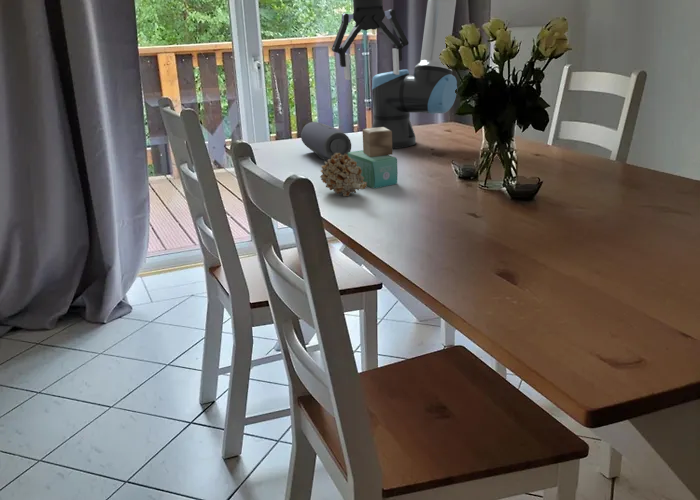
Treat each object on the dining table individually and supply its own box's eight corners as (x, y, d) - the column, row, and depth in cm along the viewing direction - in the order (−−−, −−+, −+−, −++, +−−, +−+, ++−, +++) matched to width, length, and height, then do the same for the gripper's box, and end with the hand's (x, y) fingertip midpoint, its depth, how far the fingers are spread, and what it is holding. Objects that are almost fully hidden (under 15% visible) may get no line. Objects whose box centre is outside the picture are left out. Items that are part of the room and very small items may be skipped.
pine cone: (312, 190, 177) (309, 152, 174) (346, 184, 182) (344, 146, 178) (353, 210, 159) (350, 168, 156) (389, 203, 163) (388, 161, 160)
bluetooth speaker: (354, 162, 206) (352, 128, 202) (324, 166, 202) (322, 132, 199) (328, 149, 226) (326, 118, 222) (300, 153, 222) (298, 121, 219)
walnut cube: (385, 150, 185) (384, 126, 183) (392, 154, 179) (391, 130, 177) (363, 152, 183) (362, 128, 181) (370, 156, 178) (369, 132, 176)
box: (374, 189, 176) (373, 160, 174) (347, 179, 187) (346, 152, 185) (398, 184, 179) (397, 156, 177) (371, 175, 191) (370, 148, 188)
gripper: (408, -13, 184) (411, 70, 191) (316, -5, 178) (323, 80, 186) (418, -13, 177) (421, 73, 185) (323, -5, 171) (329, 83, 179)
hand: (372, 76), depth 185 cm, fingers open, 13 cm apart
